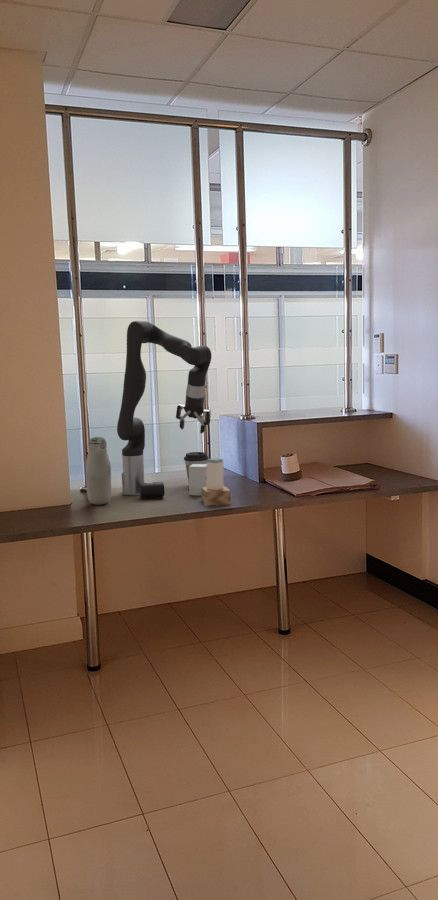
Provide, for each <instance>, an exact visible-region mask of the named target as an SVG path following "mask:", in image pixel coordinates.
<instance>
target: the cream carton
mask: <svg viewBox="0 0 438 900" xmlns="http://www.w3.org/2000/svg"><path fill="white" fill-rule="evenodd" d="M223 486H224V460H223V458H218V457H213V458H208V460H207V489H211V490H219V489H223Z"/></svg>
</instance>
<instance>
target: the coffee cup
mask: <svg viewBox="0 0 438 900" xmlns="http://www.w3.org/2000/svg"><path fill="white" fill-rule="evenodd" d="M208 459H209V456H208V455H207V453H206V452H205V451H204V452H203V451H202V452H201V451H191V452H187V453H186V454H185V456H184V457H183V460H184V463H185V469H186V475H187V483H188V484H189V467H190V466H191V465H192V464H207V462H208Z"/></svg>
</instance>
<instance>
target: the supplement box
mask: <svg viewBox="0 0 438 900" xmlns="http://www.w3.org/2000/svg"><path fill="white" fill-rule="evenodd" d="M188 485H189V486H188V489H189V490H188V491H189V492H188V493H189V496H202V487H207V464H192V465H191V466H190V467H189V483H188Z"/></svg>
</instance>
